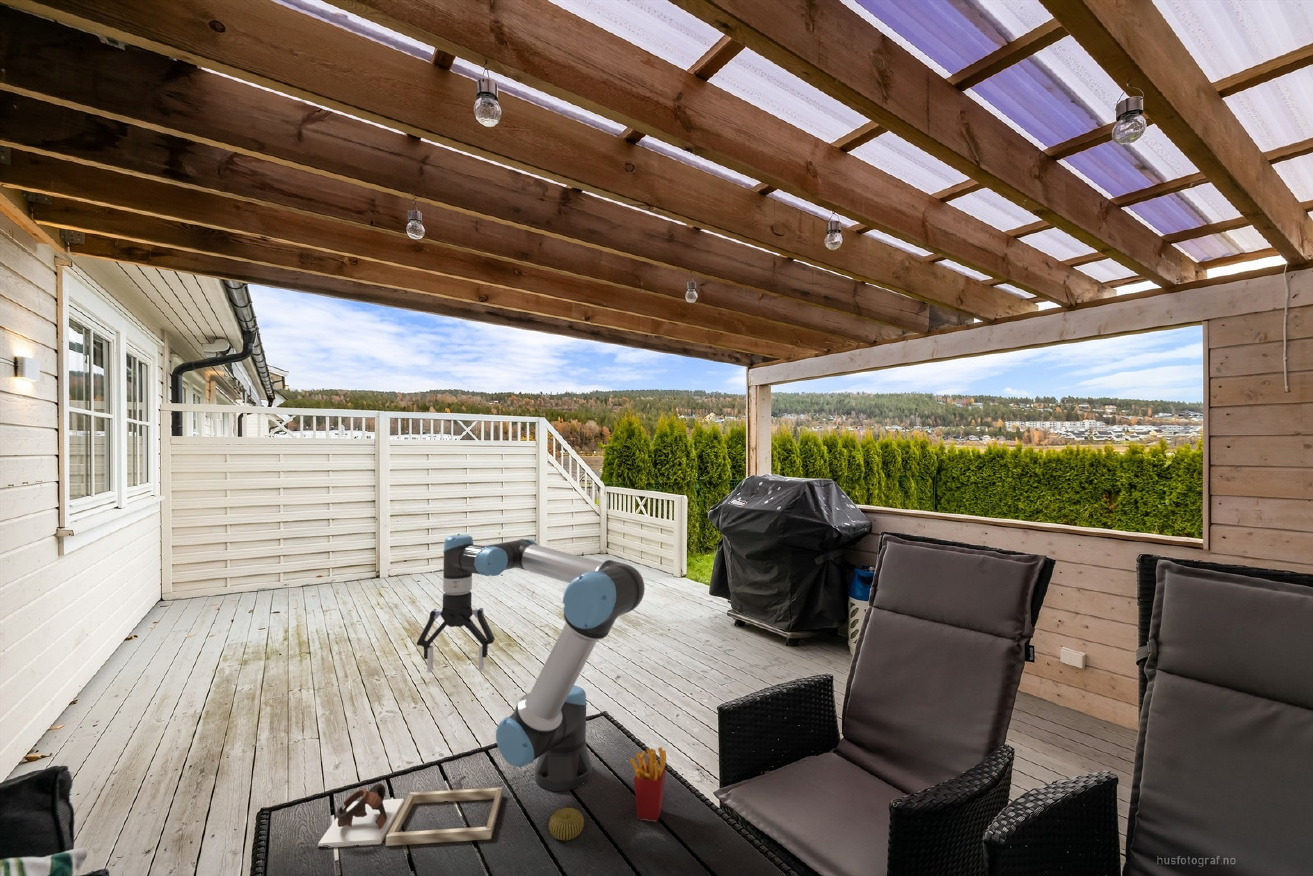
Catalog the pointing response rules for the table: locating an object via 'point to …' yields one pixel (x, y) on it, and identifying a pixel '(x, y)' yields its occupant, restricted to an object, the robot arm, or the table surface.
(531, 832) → the table surface
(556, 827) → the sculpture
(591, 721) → the table surface
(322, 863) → the table surface
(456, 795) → the frame
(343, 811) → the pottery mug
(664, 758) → the french fries
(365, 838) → the ceramic tile
